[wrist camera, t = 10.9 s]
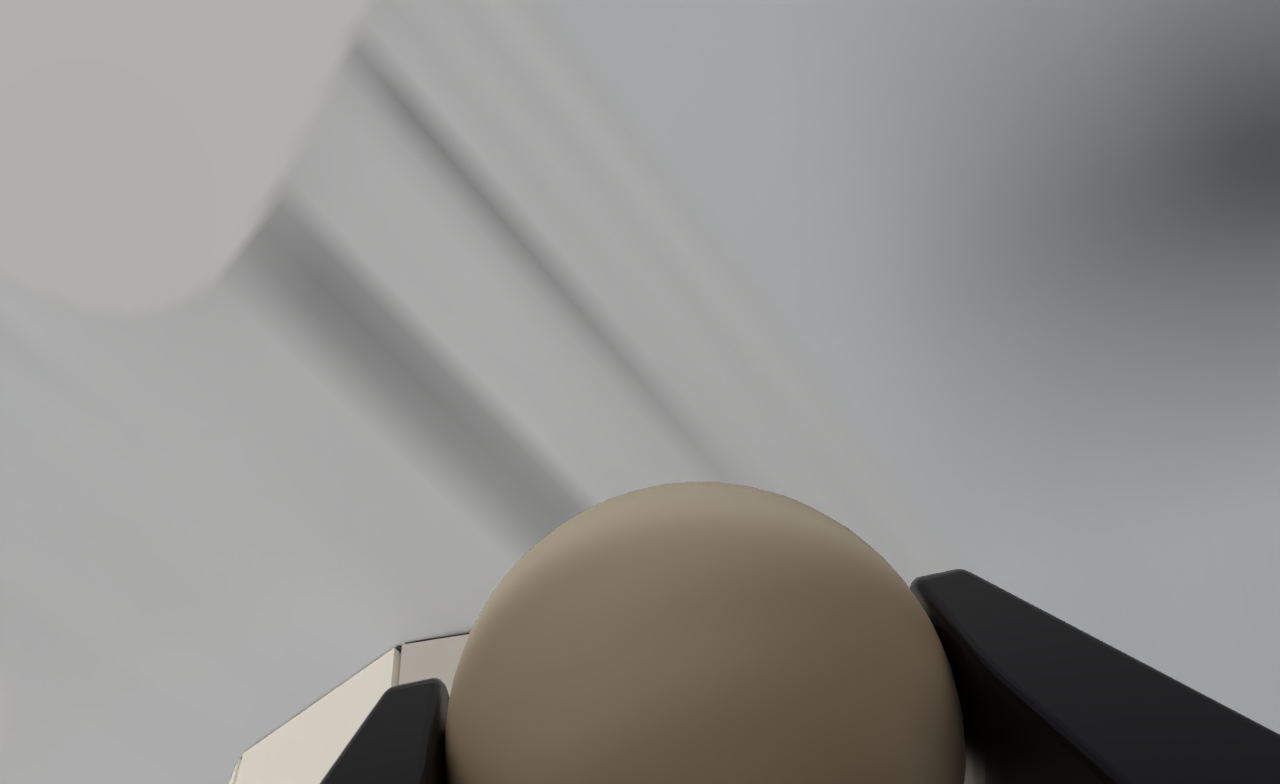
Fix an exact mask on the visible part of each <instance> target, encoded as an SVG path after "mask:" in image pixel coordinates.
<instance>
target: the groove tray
mask: <svg viewBox="0 0 1280 784" xmlns="http://www.w3.org/2000/svg"><path fill="white" fill-rule="evenodd" d="M468 636H469V634H466V635H459V636H453V637H447V638H441V639H434V640H428V641H422V642H415V643H409V644H403V645H402V651H401V653H400V652H399V651H398V650H397V649H396V648H393V649H392V650H390V651H389V652H387V653H386V654H385V655H383V656H382V657H380V658H379V659H377V660H376V661H375V662H373V663H372V664H370V665H369V666H367V667H366V668H365V669H363V670H362V671H360V672H359V673H357V674H356V675H354V676H353V677H352V678H350V679H349V680H347V681H346V682H344V683H343V684H342V685H340V686H339V687H337V688H336V689H334V690H333V691H332V692H330V693H329V694H327V695H326V696H324V697H323V698H321V699H320V700H319V701H317V702H316V703H314V704H313V705H311V706H310V707H309V708H307V709H306V710H304V711H303V712H301V713H300V714H299V715H297V716H296V717H294V718H293V719H291V720H290V721H289V722H287V723H286V724H284V725H283V726H281V727H280V728H278V729H277V730H276V731H274V732H273V733H271V734H270V735H268V736H267V737H266V738H264V739H263V740H261V741H260V742H258V743H257V744H256V745H254V746H253V747H251V748H250V749H248V750H247V751H246V752H244V753H243V756H242V759H238V762H237V764H236V767H235V769H234V772H233V774H232V777H231V779H230V782H229V784H320V782H321V781H322V779H323V778H324V777H325V775H326V774H327V772H328V771H329V770H330V768H331V767H332V765H333V764H334V762H335V761H336V760H337V758H338V757H339V755H340V754H341V753H342V751H343V750H344V748H345V747H346V746H347V744H348V743H349V741H350V740H351V738H352V737H353V736H354V734H355V733H356V731H357V730H358V729H359V727H360V726H361V724H362V723H363V722H364V720H365V719H366V717H367V716H368V714H369V713H370V712H371V710H372V709H373V707H374V706H375V705H376V703H377V702H378V700H379V699H380V698H381V696H382V695H383V694H384V692H385V691H386V690H388V689H389V688H390V687H393V686H396V685H401V684H405V683H410V682H415V681H420V680H425V679H430V678H438V679H440V680H441V681H442V682H443V683H444V684H445V686H446V688H447V691H448V694H449V697H450V693H451V688H452V684H453V679H454V675H455V672H456V669H457V666H458V663H459V660H460V657H461V655H462V652H463V649H464V647H465V644H466V641H467V639H468Z"/></svg>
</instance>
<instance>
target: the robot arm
mask: <svg viewBox="0 0 1280 784" xmlns="http://www.w3.org/2000/svg"><path fill="white" fill-rule="evenodd" d="M910 590H911V591H912V592H913V594H914V595H915V597H916V598H917V600H918V601H919V603H920V604H921V606H922V607H923V609H924V611H925V612H926V614H927V615H928V617H929V618H930V620H931V622H932V624H933V626H934V628H935V631H936V633H937V635H938V637H939V639H940V641H941V644H942V646H943V648H944V651H945V653H946V655H947V658H948V660H949V662H950V665H951V668H952V672H953V676H954V680H955V684H956V687H957V692H958V696H959V700H960V704H961V709H962V713H963V723H964V739H965V756H966V770H965V779H964V784H1280V734H1278V733H1276V732H1274V731H1272V730H1270V729H1268V728H1266V727H1264V726H1262V725H1261V724H1259V723H1257V722H1255V721H1253V720H1251V719H1249V718H1247V717H1245V716H1243V715H1242V714H1240V713H1238V712H1236V711H1234V710H1232V709H1230V708H1228V707H1226V706H1224V705H1222V704H1221V703H1219V702H1217V701H1215V700H1213V699H1211V698H1209V697H1207V696H1205V695H1203V694H1201V693H1200V692H1198V691H1196V690H1194V689H1192V688H1190V687H1188V686H1186V685H1184V684H1182V683H1180V682H1179V681H1177V680H1175V679H1173V678H1171V677H1169V676H1167V675H1165V674H1163V673H1161V672H1160V671H1158V670H1156V669H1154V668H1152V667H1150V666H1148V665H1146V664H1144V663H1142V662H1140V661H1139V660H1137V659H1135V658H1133V657H1131V656H1129V655H1127V654H1125V653H1123V652H1121V651H1119V650H1118V649H1116V648H1114V647H1112V646H1110V645H1108V644H1106V643H1104V642H1102V641H1100V640H1099V639H1097V638H1095V637H1093V636H1091V635H1089V634H1087V633H1085V632H1083V631H1081V630H1079V629H1078V628H1076V627H1074V626H1072V625H1070V624H1068V623H1066V622H1064V621H1062V620H1060V619H1058V618H1057V617H1055V616H1053V615H1051V614H1049V613H1047V612H1045V611H1043V610H1041V609H1039V608H1037V607H1036V606H1034V605H1032V604H1030V603H1028V602H1026V601H1024V600H1022V599H1020V598H1018V597H1017V596H1015V595H1013V594H1011V593H1009V592H1007V591H1005V590H1003V589H1001V588H999V587H997V586H996V585H994V584H992V583H990V582H988V581H986V580H984V579H982V578H980V577H978V576H976V575H975V574H973V573H971V572H968V571H966V570H962V569H955V570H950V571H945V572H941V573H936V574H931V575H926V576H922V577H918V578H916V579H915V580H914V581H913V582H912V584H911V586H910ZM449 698H450V697H449V694H448V691H447V688H446V686H445V684H444V683H443V682H442V681H441V680H440V679H438V678H430V679H425V680H420V681H415V682H410V683H405V684H401V685H396V686H393V687H390V688H389V689H388V690H386V691H385V692H384V694H383V695H382V696H381V698H380V699H379V700H378V702H377V703H376V705H375V706H374V707H373V709H372V710H371V712H370V713H369V714H368V716H367V717H366V719H365V720H364V722H363V723H362V724H361V726H360V727H359V729H358V730H357V731H356V733H355V734H354V736H353V737H352V738H351V740H350V741H349V743H348V744H347V746H346V747H345V748H344V750H343V751H342V753H341V754H340V755H339V757H338V758H337V760H336V761H335V762H334V764H333V765H332V767H331V768H330V770H329V771H328V772H327V774H326V775H325V777H324V778H323V779H322V781H321V782H320V784H447V779H446V765H445V729H446V719H447V711H448V703H449Z"/></svg>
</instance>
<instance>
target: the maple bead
mask: <svg viewBox="0 0 1280 784" xmlns="http://www.w3.org/2000/svg"><path fill="white" fill-rule="evenodd" d="M445 765H446V779H447V784H964V779H965V770H966V756H965V739H964V723H963V713H962V709H961V704H960V700H959V696H958V692H957V687H956V684H955V680H954V676H953V672H952V668H951V665H950V662H949V660H948V658H947V655H946V653H945V651H944V648H943V646H942V644H941V641H940V639H939V637H938V635H937V633H936V631H935V628H934V626H933V624H932V622H931V620H930V618H929V617H928V615H927V614H926V612H925V611H924V609H923V607H922V606H921V604H920V603H919V601H918V600H917V598H916V597H915V595H914V594H913V592H912V591H911V590H910V588H909V587H908V586H907V584H906V583H905V582H904V580H903V579H902V578H901V577H900V576H899V574H898V573H897V572H896V571H895V570H894V569H893V568H892V567H891V566H890V564H889V563H888V562H887V561H886V560H885V559H884V558H883V557H882V556H881V555H880V554H878V553H877V552H876V551H875V550H874V549H873V548H872V547H871V546H869V545H868V544H867V543H866V542H865V541H863V540H862V539H861V538H860V537H858V536H857V535H856V534H855V533H853V532H852V531H851V530H850V529H849V528H847V527H845V526H843V525H842V524H840V523H838V522H837V521H835V520H833V519H832V518H830V517H828V516H827V515H825V514H823V513H821V512H819V511H818V510H816V509H814V508H812V507H810V506H808V505H805V504H803V503H801V502H798V501H796V500H793V499H791V498H789V497H786V496H784V495H780V494H776V493H773V492H769V491H765V490H761V489H758V488H753V487H748V486H741V485H734V484H727V483H720V482H685V483H674V484H664V485H659V486H654V487H649V488H645V489H640V490H635V491H632V492H629V493H627V494H624V495H621V496H618V497H615V498H612V499H609V500H606V501H604V502H602V503H600V504H598V505H596V506H594V507H591V508H589V509H587V510H585V511H583V512H581V513H580V514H578V515H576V516H575V517H573V518H572V519H570V520H568V521H567V522H565V523H563V524H562V525H560V526H559V527H557V528H556V529H555V530H554V531H552V532H551V533H550V534H549V535H547V536H546V537H545V538H544V539H542V540H541V541H540V542H539V543H537V544H536V545H535V546H534V547H533V548H532V549H530V550H529V551H528V552H527V553H526V554H525V555H524V556H523V557H522V558H521V559H520V560H519V561H518V563H517V564H516V565H515V566H514V567H513V568H512V569H511V570H510V571H509V572H508V573H507V575H506V576H505V577H504V579H503V580H502V581H501V583H500V584H499V585H498V587H497V588H496V589H495V591H494V592H493V593H492V595H491V596H490V598H489V600H488V601H487V603H486V604H485V606H484V608H483V610H482V611H481V613H480V615H479V617H478V619H477V620H476V622H475V624H474V626H473V628H472V629H471V631H470V633H469V636H468V639H467V641H466V644H465V647H464V649H463V652H462V655H461V657H460V660H459V663H458V666H457V669H456V672H455V675H454V679H453V684H452V688H451V693H450V698H449V703H448V711H447V719H446V729H445Z"/></svg>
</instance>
